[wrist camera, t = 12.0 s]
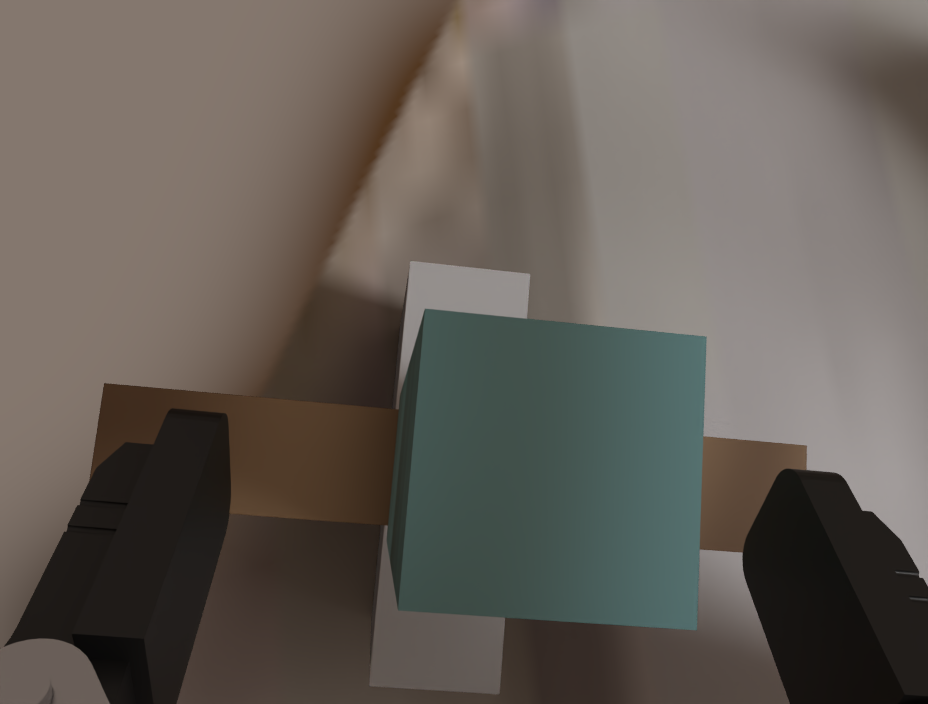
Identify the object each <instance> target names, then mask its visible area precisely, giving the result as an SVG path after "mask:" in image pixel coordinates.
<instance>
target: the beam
mask: <svg viewBox="0 0 928 704" xmlns="http://www.w3.org/2000/svg"><path fill="white" fill-rule="evenodd" d="M705 367H706V337H704V336H694V335H684V334H674V333H664V332H654V331H644V330H634V329H624V328H614V327H604V326H594V325H585V324H575V323H565V322H555V321H545V320H535V319H525V318H515V317H505V316H495V315H485V314H475V313H465V312H455V311H445V310H435V309H425V310H424V314H423V317H422V321H421V324H420V327H419V331H418V334H417V338H416V341H415V345H414V348H413V352H412V355H411V359H410V362H409V366H408V369H407V373H406V376H405V380H404V383H403V387H402V390H401V393H400V400H399V409H388V408H377V407H365V406H354V405H343V404H332V403H320V402H309V401H298V400H286V399H275V398H264V397H253V396H241V395H230V394H218V393H207V392H196V391H185V390H172V389H161V388H151V387H140V386H129V385H117V384H106V383H105V384H104V388H103V395H102V401H101V408H100V414H99V421H98V428H97V434H96V441H95V447H94V455H93V461H92V468H91V474H90V479H91V477H92V475H93V473H94V471H95V469H96V467H98V466H99V465H100V464H101V463H102V462H103V461H104V460H106V459H107V458H108V457H109V456H110V455H111V454H112V453H114V452H115V451H116V450H117V449H118V448H119V447H121V446H122V445H123V444H124V443H125V442H131V443H142V444H154V442H155V440H156V437H157V435H158V433H159V430H160V428H161V426H162V423H163V421H164V419H165V416H166V414H167V413H168V411H169V410H170V409H172V408H176V409H187V410H197V411H208V412H218V413H226V414H227V417H228V423H229V446H230V472H231V504H230V512H229V514H240V515H253V516H266V517H280V518H293V519H306V520H319V521H333V522H346V523H359V524H372V525H386V526H388V530H387V547H388V553H389V559H390V565H391V571H392V577H393V583H394V589H395V595H396V602H397V608H398V611H412V612H427V613H442V614H457V615H473V616H488V617H503V618H518V619H533V620H548V621H563V622H578V623H594V624H609V625H624V626H639V627H654V628H669V629H684V630H697V611H698V581H699V550H700V549H703V550H716V551H730V552H743V548H744V543H745V539H746V537H747V534H748V532H749V530H750V528H751V526H752V524H753V522H754V520H755V518H756V516H757V514H758V512H759V510H760V508H761V506H762V504H763V502H764V501H765V499H766V497H767V495H768V493H769V491H770V489H771V487H772V485H773V483H774V481H775V479H776V477H777V475H778V474H779V473H780V472H781V471H782V470H784V469H800V470H806V460H807V446H805V445H794V444H783V443H771V442H760V441H749V440H738V439H726V438H715V437H704V436H703V428H704V398H705Z"/></svg>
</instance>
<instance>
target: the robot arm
mask: <svg viewBox="0 0 928 704" xmlns="http://www.w3.org/2000/svg"><path fill="white" fill-rule="evenodd" d="M230 504H231V472H230V446H229V423H228V417H227V414H226V413H218V412H208V411H197V410H187V409H176V408H172V409H170V410H169V411H168V413H167V414H166V416H165V419H164V421H163V423H162V426H161V428H160V430H159V433H158V435H157V437H156V440H155V442H154V444H142V443H131V442H125V443H124V444H123V445H122V446H121V447H119V448H118V449H117V450H116V451H115V452H114V453H112V454H111V455H110V456H109V457H108V458H107V459H106V460H104V461H103V462H102V463H101V464H100V465H99V466H98V467H96V469H95V471H94V473H93V475H92V477H91V479H90V481H89V483H88V485H87V487H86V489H85V491H84V493H83V495H82V497H81V502H80V505H78V506H77V507H76V509H75V511H74V513H73V515H72V517H71V519H70V521H69V523H68V529H67V532H64V533H63V535H62V538H61V540H60V541H59V544H58V545H57V547H56V549H55V552H54V553H53V555H52V557H51V559H50V561H49V563H48V565H47V568H46V569H45V572H44V574H43V575H42V578H41V580H40V582H39V584H38V586H37V588H36V590H35V592H34V594H33V596H32V598H31V600H30V602H29V604H28V606H27V608H26V610H25V612H24V614H23V616H22V618H21V620H20V622H19V624H18V626H17V628H16V629H15V631H14V633H13V635H12V636H11V638H10V639H9V641H8V642H7V643H6V645H5V646H4V647H3V648H0V704H176V703H177V700H178V696H179V693H180V689H181V686H182V682H183V679H184V675H185V672H186V669H187V665H188V662H189V658H190V655H191V651H192V648H193V644H194V641H195V637H196V634H197V631H198V627H199V624H200V620H201V617H202V613H203V610H204V606H205V603H206V599H207V596H208V592H209V589H210V586H211V582H212V579H213V575H214V572H215V568H216V565H217V561H218V558H219V554H220V551H221V548H222V544H223V541H224V537H225V533H226V529H227V525H228V519H229V512H230ZM743 571H744V576H745V579H746V582H747V585H748V588H749V591H750V594H751V596H752V599H753V602H754V605H755V608H756V610H757V613H758V616H759V619H760V621H761V624H762V627H763V630H764V633H765V635H766V638H767V641H768V644H769V647H770V649H771V652H772V655H773V658H774V660H775V663H776V666H777V669H778V672H779V674H780V677H781V680H782V683H783V686H784V688H785V691H786V694H787V697H788V699H789V702H790V704H928V586H927V584H926V583H925V581H924V579H923V578H919V570H918V569H917V567H916V565H915V563H914V562H913V560H912V558H911V557H910V555H909V553H908V551H907V550H906V548H905V546H904V544H903V543H902V541H901V540H900V539H899V538H898V537H897V536H896V535H895V534H894V533H893V532H892V531H891V530H890V529H889V528H888V527H887V526H886V525H885V524H884V523H883V522H882V521H881V520H880V519H879V518H878V517H877V516H876V515H875V514H874V513H873V512H870V511H862V510H861V508H860V506H859V504H858V502H857V500H856V499H855V497H854V495H853V493H852V491H851V489H850V488H849V486H848V484H847V482H846V481H845V479H844V478H843V477H842V476H841V475H839V474H837V473H832V472H821V471H810V470H800V469H784V470H782V471H781V472H780V473H779V474H778V475H777V477H776V479H775V481H774V483H773V485H772V487H771V489H770V491H769V493H768V495H767V497H766V499H765V501H764V502H763V504H762V506H761V508H760V510H759V512H758V514H757V516H756V518H755V520H754V522H753V524H752V526H751V528H750V530H749V532H748V534H747V537H746V539H745V543H744V548H743Z"/></svg>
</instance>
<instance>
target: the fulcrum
mask: <svg viewBox="0 0 928 704" xmlns="http://www.w3.org/2000/svg"><path fill="white" fill-rule="evenodd" d="M529 282H530V274H526V273H516V272H507V271H498V270H489V269H480V268H471V267H461V266H452V265H443V264H434V263H425V262H416V261H410V267H409V273H408V279H407V286H406V292H405V298H404V305H403V311H402V318H401V324H400V332H399V342H398V353H397V363H396V373H395V383H394V393H393V404H392V409H399V400H400V393H401V390H402V387H403V383H404V380H405V376H406V373H407V369H408V366H409V362H410V359H411V355H412V352H413V348H414V345H415V341H416V338H417V334H418V331H419V327H420V324H421V321H422V317H423V314H424V310H425V309H435V310H445V311H455V312H465V313H475V314H485V315H495V316H505V317H515V318H525V319H527V310H528V296H529ZM387 530H388V526H386V525H381V526H380V537H379V547H378V557H377V567H376V578H375V588H374V598H373V608H372V618H371V647H370V676H369V686H371V687H387V688H404V689H420V690H436V691H452V692H469V693H485V694H500V682H501V668H502V654H503V641H504V627H505V618H503V617H488V616H473V615H457V614H442V613H427V612H412V611H398V608H397V602H396V595H395V589H394V583H393V577H392V571H391V565H390V559H389V553H388V547H387Z"/></svg>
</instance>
